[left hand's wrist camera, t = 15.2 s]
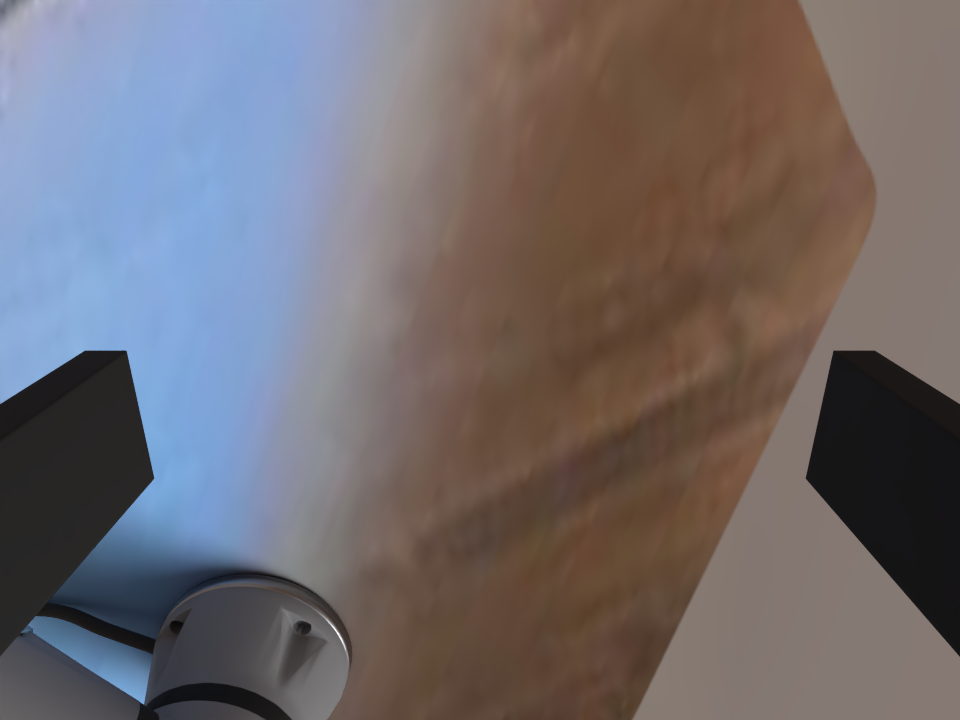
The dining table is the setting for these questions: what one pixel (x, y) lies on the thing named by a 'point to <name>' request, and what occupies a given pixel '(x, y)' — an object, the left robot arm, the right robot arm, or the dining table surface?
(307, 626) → the left robot arm
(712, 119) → the dining table surface
